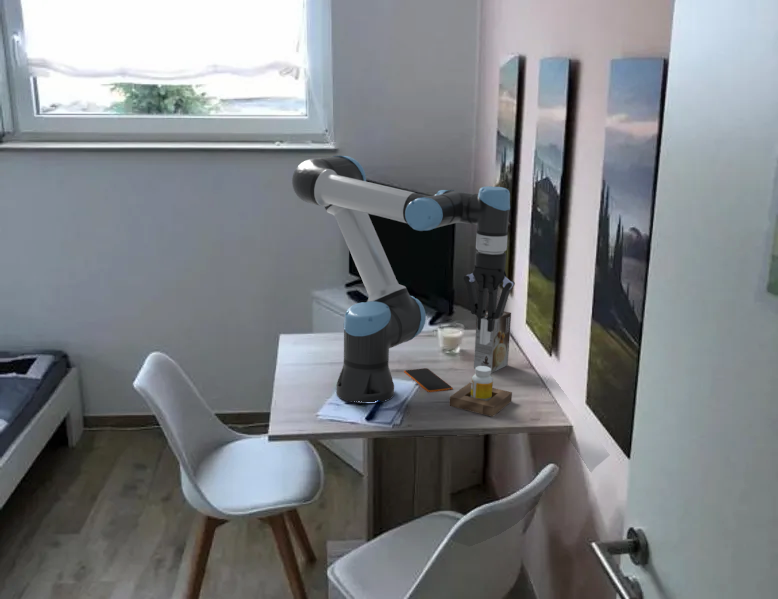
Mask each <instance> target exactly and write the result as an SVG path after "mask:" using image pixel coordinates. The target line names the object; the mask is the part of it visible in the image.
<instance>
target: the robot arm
mask: <svg viewBox="0 0 778 599" xmlns="http://www.w3.org/2000/svg"><path fill="white" fill-rule="evenodd" d="M291 185H292V189H293V191H294V193H295V195H296V196H297V197H298V199H300V200H301V201H303V202H305V203H308V204H312V205H316V206H320V207H324V209H325V210H326V213H327V214H330V215H333V217H334V218H335V221H336V222H337V225H338V227H339V229H340V232H341V234H342V236H343V239H344V241H345V244H346V246H347V247H348V251H349V253H350V254H351V257H352V260H353V262H354V264H355V267H356V269H357V271H358V273H359V276H360V277H361V280H362V281H361V282H363V285H364V288H365V290H366V293H367V295H368V299H367V301H366V302H358V303H354V304H352V305H351V306H350V307H348V308H347V310H346V312H345V314H344V321H343V366H342V367H341V370H340V374H339V375H338V376H339V377H338V379H337V382H336V387H335V390H336V395H337V397H339V398H340V399H341V400H344V401H346V402H349V401H352V402H351V403H353V402H354V401H355V402H356V401H357V402H358V401H360V402H361V401H362V402H375V401H377V400H380V401H384V402H386V401H385V400H387V401H389V400H391V399H392V398H393V397H394V396H395V384H394V381H393V377H392V376H393V375H392V373H391V370H390V369H391V368H390V367H389V363H390V362H389V360H390V359H389V358H390V356H389V355H390V349H391V348H394V347H396V346H399V345H401V344H403V343H407V342H409V341H411V340H413V339H414V338H415V337H417V336H419V335H420V334H421V332H422V331H423V330H424V327H425V324H426V320H427V319H426V317H427V315H426V310H425V308H424V305H423V303H422V302H421V301H420V300H419V299H418V298H415V296H413V295H410V293H409V291H408V289H407V287H406V286H405V285H402V284H399V281H398V280H397V279H396V275H395V273H394V271H393V268H392V267H391V266H392V265H391V264H390V261H389V259H388V257H387V255H386V252H385V250H384V247H383V246H382V243H381V241H380V238H379V236H378V233H377V231H376V230H375V227H374V225H373V223H372V222H373V221H372V220H371V218H370V215H372V216H377V217H381V218H385V219H390V220H392V221H397V222H400V223H404V224H407V225H409V227H410V228H412V229H413V230H415V231H419V232H423V231H426V232H427V231H431V230H433V229H437V228H440V227H441V228H442V227H444V226H448V225H453V224H457V223H460V224H461V223H462V224H467V225H468V224H470V225H476V239H475V249H476V251H475V253H474V267H473V269H472V273H468V274H466V275H464V276H463V281H464V282H465V285H466V288H467V295H468V301H469V302H468V303H469V308H470V313H471V314H472V315H475V316H476V318H477V317H478V325H477V328H478V330H480V344H484V345H486V344H488V343H489V342H490V333H491V332H492V331H493V330H494V324H495V319H498V318H499V317H501V316H502V315H503V312H504V311H505V308H506V305H507V302H508V299H509V296H510V292H511V290H512V289H513V287H514V286H515V284H516V283H515V282H514V280H512V281H511V280H510V279H509V278H508V277H507V273H506V262H507V261H506V260H507V253H506V251H507V249H508V247H507V246H508V232H509V231H508V230H509V228H508V227H509V218H510V217H509V216H510V210H511V202H510V201H511V193H510V190H509V189H508V188H506V187H502V186H493V185H492V186H491V185H490V186H482V187H479V190H478V193H472V192H465V191H458V190H454V189H449V190H447V189H440V190H438V191H437V193H436V194H434V195H427V194H421V193H416V192H414V191H410V190H405V189H400V188H396V187H391V186H387V185H382V184H379V183H375V182H374V183H373V182H370V181H369V182H368V181H367V174H366V172H365V170H364V167H363V166H362V164H360V162H359V161H358V160H357V159H355V158H353V157H351V156H347V155H333V156H326V157H319V158H318V157H316V158H310V159H309V158H308V159H306V160H304V161H301V163H299V164H298V165H297V167H296V168H295V169H294V171H293V173H292V177H291ZM476 283H477V284H478V292H477V288H476V287H477V286H476ZM502 283H503V284H502ZM501 284H502V287H503V288H502V290H501V293H500V296H499V299H498V292H499V287H500V285H501ZM497 301H498V303H497ZM487 303H488V304H487ZM486 311H488V316H485V315H486V314H487V313H486ZM393 395H394V396H393ZM392 396H393V397H392ZM391 397H392V398H391ZM390 398H391V399H390ZM388 399H389V400H388Z"/></svg>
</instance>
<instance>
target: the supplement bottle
mask: <svg viewBox="0 0 778 599" xmlns="http://www.w3.org/2000/svg"><path fill="white" fill-rule="evenodd" d="M491 374H492V373H491V368H489V367H487V366H478V367H476V368H474V374H473V376H472V377H471V382H470V383H471V396H470V397H472V398H477V399H481V400H485V401H489V400H490V399H491V398H492V388H493V386H494V385H493V383H494V379H493V376H491Z"/></svg>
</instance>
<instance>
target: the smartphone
mask: <svg viewBox="0 0 778 599" xmlns="http://www.w3.org/2000/svg"><path fill="white" fill-rule="evenodd" d="M403 373H405V375H407V376H408V377H409V378H410V377H411V379H412V381H414V380H415V381H416V382H417V383H418V384H419V385H418V384H417V383H416V382H415V381H414V382H415V383H416V384H417V385H418V386H420V387H421V388H422V389H423V390H425V391H426V392H427V393H437V392H444V391H445V392H446V391H451V390H454V389H453V386H451V385H450V384H449V383H447V382H446V381H445V380H444V379H443V378H441V377H440V376H438V375H437V374H436V373H434V372H433V371H432V370H431V369H429V368H428V367H424V368H423V367H422V368H414V369H406V370H404V371H403Z"/></svg>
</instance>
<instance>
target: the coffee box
mask: <svg viewBox="0 0 778 599" xmlns="http://www.w3.org/2000/svg"><path fill="white" fill-rule="evenodd" d="M486 313H487V314H486V315H485V316H488V310H486ZM511 320H512V312H509V311H505V310H504V312H503V315H502V316H501V317H499V318H498V319H495V324H494V330H493V331H492V332H491V333H490V342H489V343H488V344H486V345H484V344H480V330H478V328H477V325H478V317H477V316H476V319H475V321H476V322H475V336H474V337H475V341H474V357H473V369H475V368H476V367H478V366H487V367H489V368H491V374H493V373H495V372H497V371H499V370H500V369H502V368H505V367H507V366H508V365H509V350H510V336H511V323H512V322H511Z"/></svg>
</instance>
